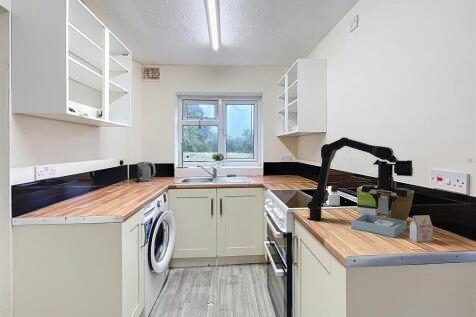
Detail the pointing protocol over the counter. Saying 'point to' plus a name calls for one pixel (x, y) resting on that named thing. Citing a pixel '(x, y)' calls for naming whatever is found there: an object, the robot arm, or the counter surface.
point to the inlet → (385, 223)
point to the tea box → (366, 203)
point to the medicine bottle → (333, 196)
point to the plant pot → (400, 206)
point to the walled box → (368, 225)
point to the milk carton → (421, 229)
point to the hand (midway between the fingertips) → (384, 209)
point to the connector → (383, 205)
